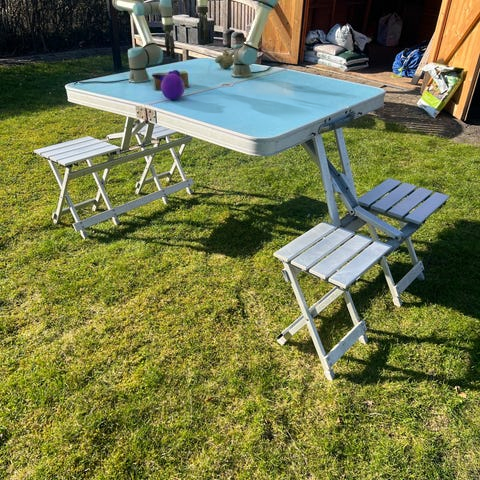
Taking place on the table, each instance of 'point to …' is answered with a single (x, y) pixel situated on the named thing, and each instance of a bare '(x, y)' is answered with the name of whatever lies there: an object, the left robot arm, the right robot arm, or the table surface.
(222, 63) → the teapot
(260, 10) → the right robot arm
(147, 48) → the left robot arm
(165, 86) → the toy
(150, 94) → the table surface
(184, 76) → the box
